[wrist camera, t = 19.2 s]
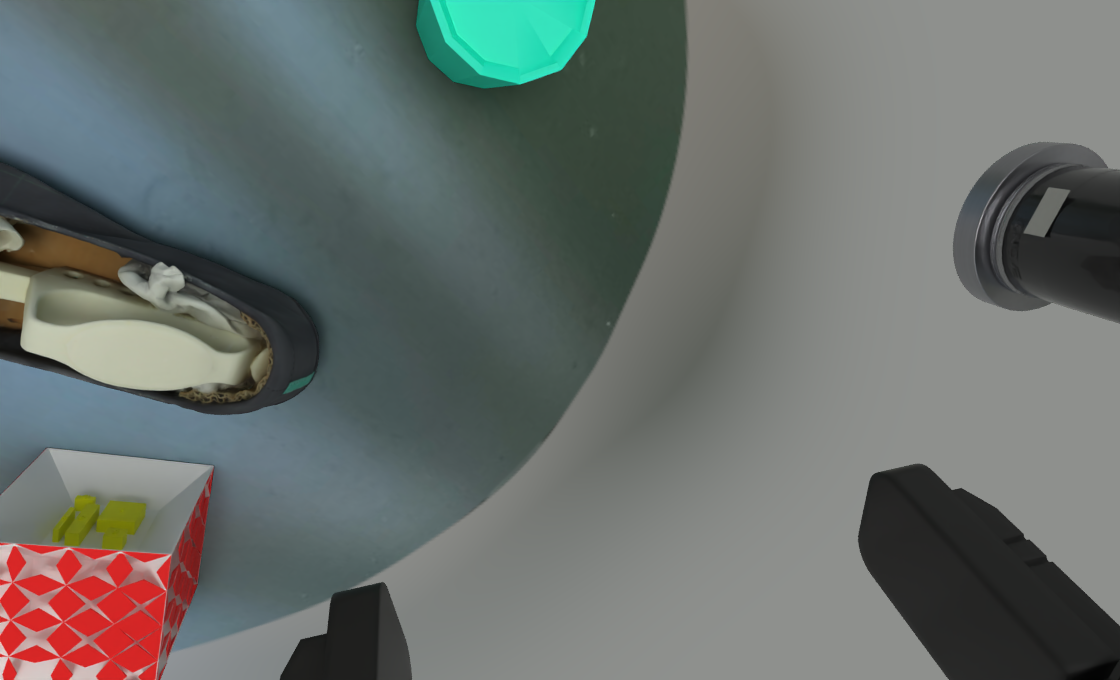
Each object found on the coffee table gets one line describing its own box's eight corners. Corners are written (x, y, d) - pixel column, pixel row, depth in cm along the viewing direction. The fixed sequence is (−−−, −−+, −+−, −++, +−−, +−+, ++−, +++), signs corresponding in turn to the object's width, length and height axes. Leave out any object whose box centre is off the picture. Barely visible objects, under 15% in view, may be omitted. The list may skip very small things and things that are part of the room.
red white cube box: (214, 465, 37) (171, 554, 30) (198, 583, 39) (154, 694, 32) (45, 447, 34) (-46, 539, 27) (37, 574, 37) (-50, 691, 29)
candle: (396, 52, 32) (400, 27, 21) (445, -73, 31) (477, -167, 20) (507, 109, 34) (563, 114, 23) (557, -5, 33) (641, -56, 22)
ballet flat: (-239, 58, 27) (-479, 42, 19) (350, 280, 35) (340, 329, 28) (-274, 245, 29) (-507, 296, 21) (296, 415, 37) (273, 494, 30)
